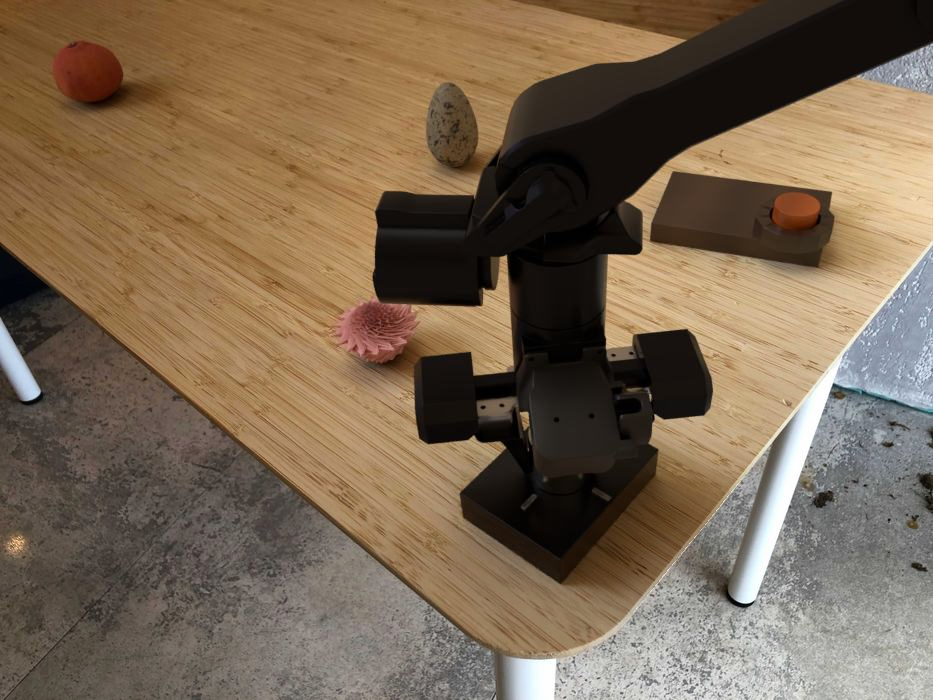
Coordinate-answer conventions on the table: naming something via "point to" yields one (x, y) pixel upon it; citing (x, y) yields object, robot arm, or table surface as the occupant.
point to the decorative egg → (451, 126)
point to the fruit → (87, 71)
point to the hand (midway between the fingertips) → (559, 465)
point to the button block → (737, 219)
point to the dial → (557, 484)
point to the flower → (376, 329)
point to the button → (796, 211)
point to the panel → (553, 509)
